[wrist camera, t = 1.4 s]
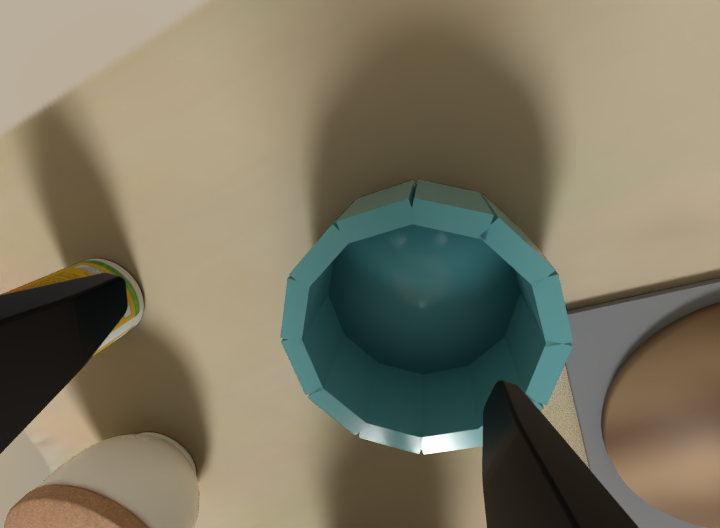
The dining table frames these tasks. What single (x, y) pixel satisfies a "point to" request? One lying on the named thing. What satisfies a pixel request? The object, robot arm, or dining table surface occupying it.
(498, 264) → the bowl
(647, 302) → the mat
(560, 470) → the robot arm
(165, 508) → the lidded jar
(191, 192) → the dining table surface
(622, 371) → the lid
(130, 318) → the supplement bottle
